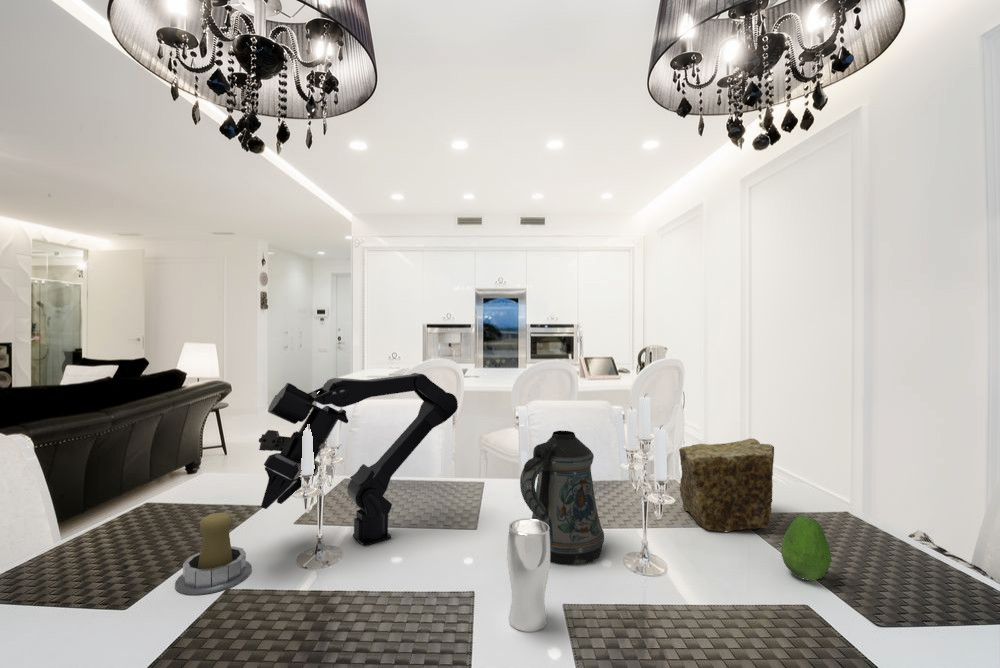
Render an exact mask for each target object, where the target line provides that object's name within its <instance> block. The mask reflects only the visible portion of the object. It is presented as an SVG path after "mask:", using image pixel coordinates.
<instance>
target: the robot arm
mask: <svg viewBox="0 0 1000 668" xmlns="http://www.w3.org/2000/svg"><path fill="white" fill-rule="evenodd" d="M318 391H320V392H319V393H318V394H317V392H318ZM408 392H414V393H415V395H417V397H418V398H419V399H420V400H421V401H422V403H421V405H420V408H419V410H418V413H417V416H416V418H415V419H414V420H413V421H412V422H411V423H409V425H408V426H407V427H406V429H405V430H403V432H402V433H401V434H400V435H399V437H398V438H397V439H396V440H395V441H394V442H393V443H392V444H391V445H390V447H389V448H388V449H387V450H386V451H385V452H384V453H383V454H382V456H380V458H379V459H378V460H377V461H376V462H375V463H373V464H371V465H370V466H368V465H366V464H364V463H363V464H361V466H360V467H359V468H358V470H357V471H356V472H355V473H354V474H353V475H351V476H349V479H351V480H350V481H349V482H348V483H347V484H348V485H347V495H348V498H350V499H351V501H352V502H353V503H355V506H357V507H358V508H359V509H357V510H356V515H355V516H356V517H355V518H354V519H353V533H352V537H353V538H354V539H355V540H357V541H358V542H359V543H360V544H361V545H363V546H368V545H371V544H375V543H378V542H381V541H386V540H389V539H391V538H392V534H390V533H389V514H390V513H391V510H392V507H393V504H392V503H391V501H389V500H388V499H387V498H386V497H384V495H385V494H386V492H387V491H388V489H389V488H388V487H389V485H390V482H391V479H392V476H393V475H394V474H395V472H397V471H398V470H399V468H400V467H401V466H402V465H403V463H405V462H406V460H407V459H408V458H409V456H411V454H412V453H413V452H414V451H415V449H417V447H418V446H419V445H420V444H421V443H422V441H423V440H424V439H425V438H426V436H428V435H429V434H430V432H431V431H432V430H433V429H434V428H436V427H438V426H440V425H441V424H444V423H445V422H446V421H448V419H450V418H451V417H452V416H453V415H455V414H456V412H457V410H458V408H459V406H458V398H457V397H456V396H455V395H454V394H453V393H451V392H446V390H444V388H441V387H440V386H439V385H437V384H436V383H435V382H434V381H432V380H431V379H429V377H428V376H427V375H426V374H424V373H419V372H418V373H417V372H414V373H411V374H403V375H396V376H387V377H380V378H379V377H378V378H377V377H376V378H370V379H357V378H343V377H342V378H341V377H333V378H330V379H327V380H326V382H325V383H324V384H323V385H322V386H321V387H320V388H316V390H313V391H310V392H308V393H307V392H306V391H304V390H302V389H300V388H298V387H297V386H296V385H294V384H292V383H289V382H287V383H286V384H285V385H284V387H282V388H281V389H280V390H279V392H278V393H277V394H275V395H274V397H273V399H272V401H271V402H270V404H269V407H268V409H267V413H269V414H271V415H274V416H275V417H277V418H280V419H282V420H284V421H286V422H289V423H291V424H293V425H296V424H297V423H299V422H300V423H301V422H302V423H303V424H302V426H301V428H300V429H299V431H297V430H296V431H293V433H292V434H291V435H290V436H282V435H280V433H279V431H278V430H273V429H268V430H266V432H265V433H264V434H261V437H260V438H258V443H260V445H259V448H258V450H259V451H265V452H266V451H270V452H273V451H274V452H275V451H276V453H273V454H270V455H268V456H267V459H266V460H265V462H264V464H263V466H264V471H266V474H267V476H268V477H267V478H268V480H267V481H268V482H267V485H266V489H265V491H264V495H263V498H262V502H261V506H260V507H261V508H262V509H265V510H266V509H268V508H269V507H270V506H271V505H272V504H274V503H275V502H276V503H277V504H279V505H282V504H283V503H284V502H286V501H287V500H289V498H291V496H293V495H294V494H295V493H296V492H298V491H299V490H300V489H301V488H302V487H301V480H300V477H299V476H300V475H301V474H300V473H301V471H302V470H301V458H302V436H303V431H304V430H305V428H306V427H307V424H310V429H311V432H312V436H313V452H314V465H315V469H314V474H313V476H312V479H313V478H314V477H315V476H317V475H318V473H319V471H318V466H319V464H320V462H319V461H317V460H316V459H317V457H318V455H319V454H320V452H321V450H322V449H325V448H326V446H327V444H326V441H328V440H327V439H329V436H330V435H331V433H332V431H333V429H335V426H336V424H338V423H337V422H338V421H340V422H342V423H345V424H348V423H349V419H348V416H347V410H345V409H340V410H338V409H335V408H334V407H332V406H330V405H333V406H335V407H338V408H345V407H348V406H352V405H355V404H357V403H358V404H359V403H360V402H362V401H364V400H366V399H370V398H373V397H380V396H388V395H395V394H402V393H408ZM314 402H316V403H318V404H320V405H323V406H324V407H319V406H318V405H315V404H313V403H314ZM279 452H280V453H279ZM317 472H318V473H317ZM297 490H298V491H297ZM295 491H296V492H295ZM294 492H295V493H294ZM293 493H294V494H293ZM292 494H293V495H292Z"/></svg>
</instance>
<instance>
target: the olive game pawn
mask: <svg viewBox="0 0 1000 668" xmlns="http://www.w3.org/2000/svg"><path fill="white" fill-rule="evenodd" d="M233 521H234V520H233V517H232V515H231V514H229V513H227V512H216V513H211V514H207V515H206V516H204V517H203V518H202V520H201V521H200V522H199V523H200V524H199V532H200V534H201V535H202V539H201V546H200V550H199V551H200V556H199V562H198V568H197V569H210V568H216V567H219V566H223V565H227V564H229V563H231V562H232V561H233V559H232V552H231V546H232V544H231V537H230V530H231V529H232V527H233Z"/></svg>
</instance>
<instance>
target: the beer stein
mask: <svg viewBox="0 0 1000 668" xmlns="http://www.w3.org/2000/svg"><path fill="white" fill-rule="evenodd" d="M532 453H533V456H532V458H529V459H528V460H527V461H526V463H524V465H523V469H522V471H521V474H520V477H519V484H520V485H519V486H520V493H521V496H522V499H523V500H524V502H525V504H526V505H527V507H528V508H529V510H530V511H531V512H532V515H531V519H537V520H541V521H543V522H545V523H547V524H548V525H549V527H550V543H551V560H550V563H553V564H558V565H563V566H565V565H567V566H578V565H579V566H580V565H587V564H589V563H592V562H593V563H594V562H595V560H597V559H599V558H600V557H601V555H602V553H603V547H604V543H605V533H604V530H603V527H602V525H601V522H600V517H599V514H598V508H597V503H596V497H595V491H594V489H595V488H594V485H593V484H594V482H593V475H592V468H591V467H592V464H593V461H594V457H595V456H594V453H593V451H592V450H591V449H590V448H589V447H588V446H586V444H584V443H583V442H582V441H581V440H580V439H579V438H578V437H576V433H575V432H574V431H570V430H555V431H553V432H552V435H551V437H550V438H549V439H547V441H545V442H543V443H539V444H537V445H535V446H534V448H533V451H532ZM536 480H537V482H536ZM535 486H536V487H535Z"/></svg>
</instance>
